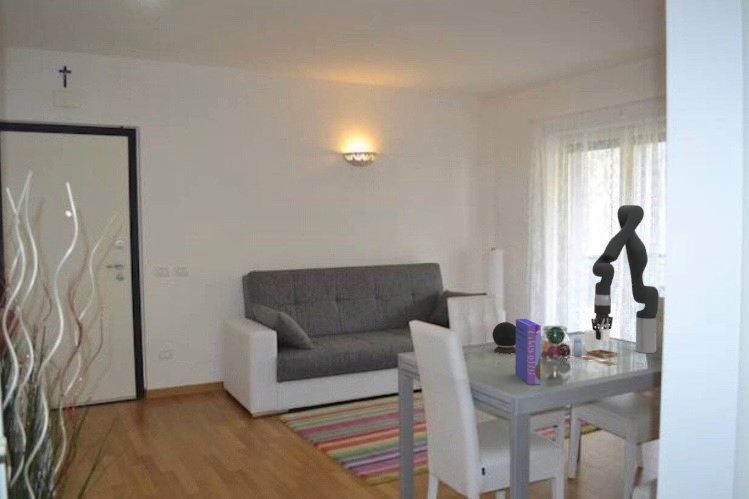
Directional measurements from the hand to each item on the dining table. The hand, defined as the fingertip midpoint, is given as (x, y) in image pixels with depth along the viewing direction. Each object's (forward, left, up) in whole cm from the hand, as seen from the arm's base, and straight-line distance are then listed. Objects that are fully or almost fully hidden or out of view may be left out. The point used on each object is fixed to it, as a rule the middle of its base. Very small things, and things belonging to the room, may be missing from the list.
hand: (601, 338), depth 303 cm
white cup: (-8, -11, -9) cm, 16 cm away
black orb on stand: (+29, -35, -9) cm, 47 cm away
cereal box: (+63, +10, -9) cm, 65 cm away
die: (0, 0, -1) cm, 1 cm away
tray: (0, 0, -9) cm, 9 cm away
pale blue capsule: (+11, -5, -8) cm, 15 cm away
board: (+11, +3, -9) cm, 15 cm away
